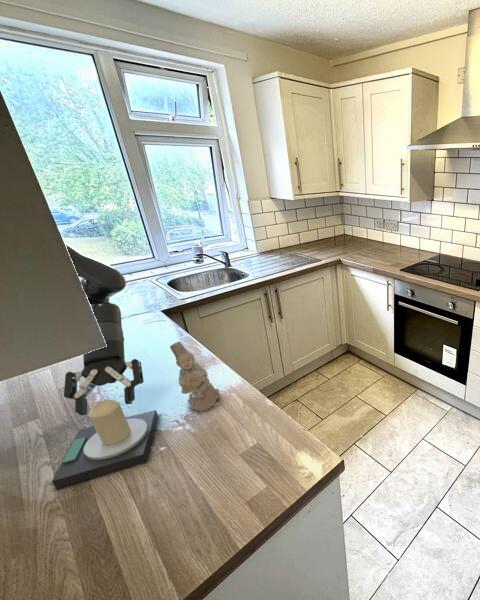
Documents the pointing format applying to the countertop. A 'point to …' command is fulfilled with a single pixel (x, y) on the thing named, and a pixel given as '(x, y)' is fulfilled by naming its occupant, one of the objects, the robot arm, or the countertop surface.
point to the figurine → (194, 379)
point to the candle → (109, 421)
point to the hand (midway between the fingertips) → (106, 409)
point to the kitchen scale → (106, 451)
